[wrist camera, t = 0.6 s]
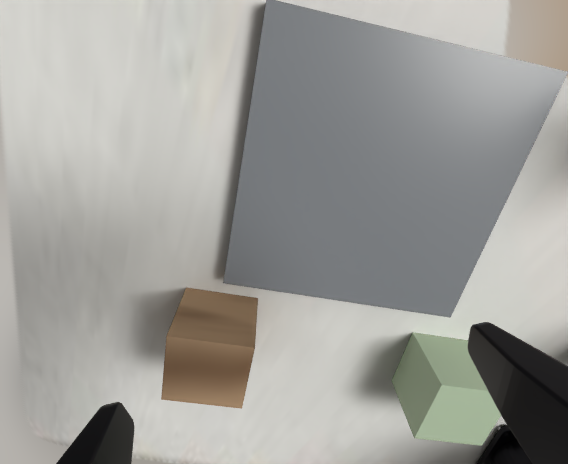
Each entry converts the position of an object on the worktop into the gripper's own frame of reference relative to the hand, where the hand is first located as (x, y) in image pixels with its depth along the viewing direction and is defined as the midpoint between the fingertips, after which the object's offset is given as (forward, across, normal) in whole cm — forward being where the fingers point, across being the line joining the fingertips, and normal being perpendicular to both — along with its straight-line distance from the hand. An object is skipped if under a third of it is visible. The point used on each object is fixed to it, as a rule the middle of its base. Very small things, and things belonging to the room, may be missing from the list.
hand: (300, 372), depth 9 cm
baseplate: (+13, -7, +2) cm, 15 cm away
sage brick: (+11, -10, +17) cm, 23 cm away
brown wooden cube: (+13, +5, +10) cm, 17 cm away
